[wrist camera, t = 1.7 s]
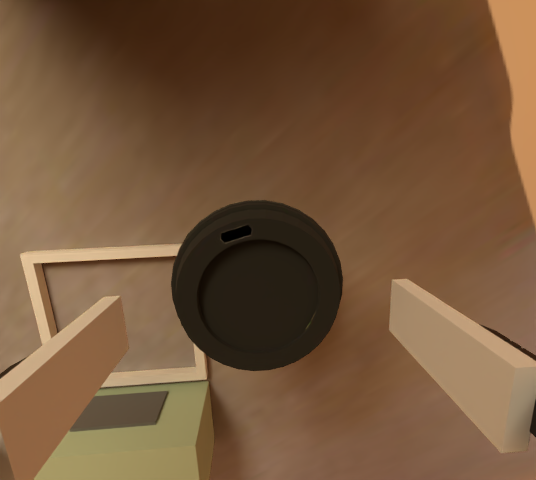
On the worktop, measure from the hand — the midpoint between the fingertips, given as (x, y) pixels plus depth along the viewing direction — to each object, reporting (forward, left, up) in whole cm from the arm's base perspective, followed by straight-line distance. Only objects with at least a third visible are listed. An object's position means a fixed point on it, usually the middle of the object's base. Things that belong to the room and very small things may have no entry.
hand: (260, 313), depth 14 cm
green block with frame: (+12, -15, -16) cm, 25 cm away
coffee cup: (0, 0, -16) cm, 16 cm away
